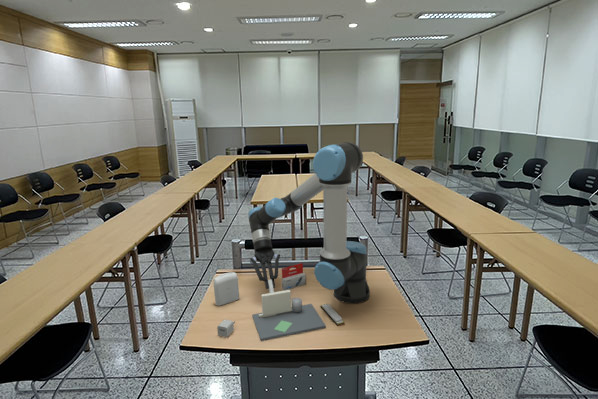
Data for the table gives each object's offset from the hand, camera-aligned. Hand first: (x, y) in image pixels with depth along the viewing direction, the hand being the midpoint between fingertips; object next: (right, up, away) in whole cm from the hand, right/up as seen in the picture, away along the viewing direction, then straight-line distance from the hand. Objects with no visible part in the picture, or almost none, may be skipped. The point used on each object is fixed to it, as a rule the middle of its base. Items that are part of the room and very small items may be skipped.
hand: (272, 296), depth 148 cm
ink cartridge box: (+8, -1, +19) cm, 21 cm away
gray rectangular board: (+6, -8, -8) cm, 13 cm away
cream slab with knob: (+4, -5, -4) cm, 7 cm away
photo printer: (-19, -4, +8) cm, 21 cm away
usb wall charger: (-15, -10, -12) cm, 22 cm away
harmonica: (+23, -7, -4) cm, 24 cm away
